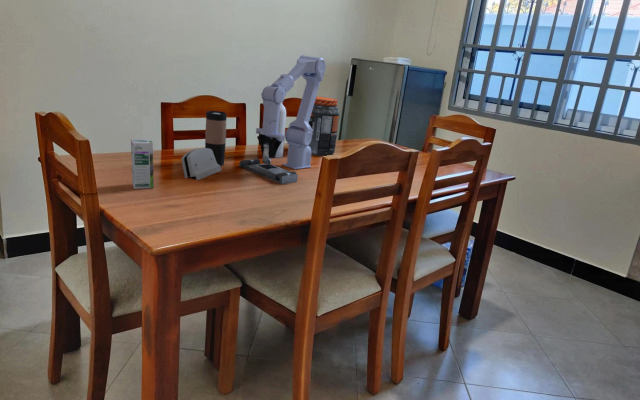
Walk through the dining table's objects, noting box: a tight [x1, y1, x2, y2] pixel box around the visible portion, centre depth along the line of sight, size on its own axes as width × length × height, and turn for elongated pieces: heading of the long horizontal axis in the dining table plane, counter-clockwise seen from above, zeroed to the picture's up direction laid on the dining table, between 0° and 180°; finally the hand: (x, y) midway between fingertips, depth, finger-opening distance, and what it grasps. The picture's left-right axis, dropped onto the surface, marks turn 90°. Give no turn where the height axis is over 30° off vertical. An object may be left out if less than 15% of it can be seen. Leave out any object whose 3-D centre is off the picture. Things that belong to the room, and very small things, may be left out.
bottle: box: [271, 102, 287, 159], centre depth 190 cm, size 8×8×30 cm
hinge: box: [180, 147, 222, 181], centre depth 155 cm, size 17×5×10 cm, turn 163°
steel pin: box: [261, 143, 272, 164], centre depth 163 cm, size 4×4×7 cm
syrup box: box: [130, 138, 155, 190], centre depth 134 cm, size 6×6×14 cm
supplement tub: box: [308, 96, 340, 157], centre depth 207 cm, size 16×16×26 cm
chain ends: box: [238, 158, 299, 185], centre depth 165 cm, size 8×26×3 cm, turn 45°
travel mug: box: [204, 110, 228, 167], centre depth 167 cm, size 8×8×20 cm
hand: (268, 156), depth 163 cm, fingers closed on steel pin, 4 cm apart
